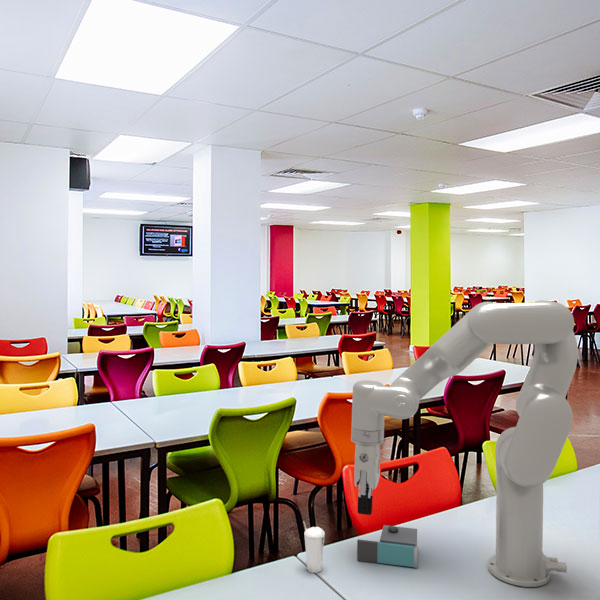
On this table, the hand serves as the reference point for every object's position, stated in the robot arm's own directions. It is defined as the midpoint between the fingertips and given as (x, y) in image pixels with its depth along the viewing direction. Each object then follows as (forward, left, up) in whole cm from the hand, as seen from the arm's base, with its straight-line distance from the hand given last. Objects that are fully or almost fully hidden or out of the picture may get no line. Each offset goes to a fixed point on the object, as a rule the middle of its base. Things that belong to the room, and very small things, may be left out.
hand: (364, 512), depth 128 cm
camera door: (-6, +3, -10) cm, 12 cm away
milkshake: (+10, +9, -10) cm, 17 cm away
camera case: (-8, -2, -10) cm, 13 cm away
